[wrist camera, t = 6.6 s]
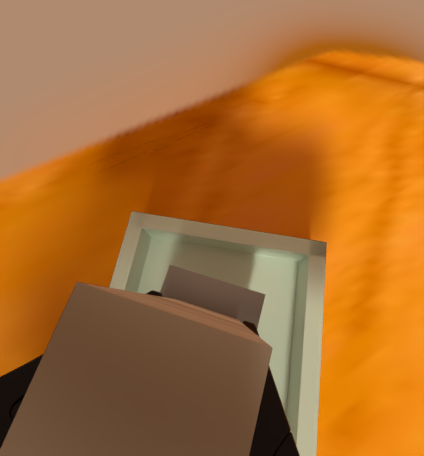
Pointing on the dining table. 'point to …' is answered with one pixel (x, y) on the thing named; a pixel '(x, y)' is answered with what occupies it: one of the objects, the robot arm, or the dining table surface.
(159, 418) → the square pillar on base
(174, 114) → the dining table surface
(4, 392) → the robot arm
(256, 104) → the dining table surface
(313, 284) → the tray
